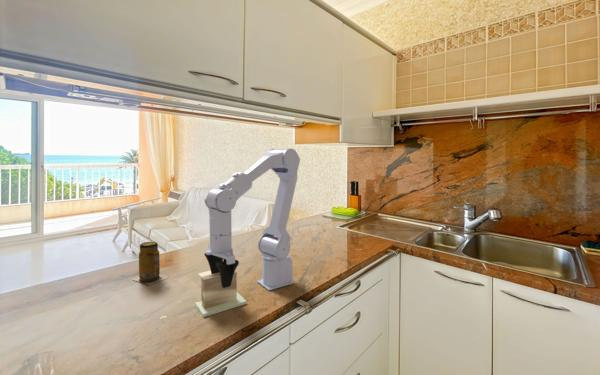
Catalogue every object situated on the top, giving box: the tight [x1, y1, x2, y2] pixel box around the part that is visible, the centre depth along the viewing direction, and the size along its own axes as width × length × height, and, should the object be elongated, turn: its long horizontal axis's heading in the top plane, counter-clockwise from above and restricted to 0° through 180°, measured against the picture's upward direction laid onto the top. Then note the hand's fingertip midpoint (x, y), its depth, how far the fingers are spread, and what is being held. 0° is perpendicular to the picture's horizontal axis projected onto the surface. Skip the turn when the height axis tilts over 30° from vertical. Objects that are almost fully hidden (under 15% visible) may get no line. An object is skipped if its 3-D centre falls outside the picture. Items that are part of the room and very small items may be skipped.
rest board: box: [194, 292, 248, 318], centre depth 77 cm, size 12×7×1 cm, turn 126°
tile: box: [197, 270, 211, 279], centre depth 95 cm, size 6×1×9 cm
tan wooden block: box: [200, 270, 238, 309], centre depth 76 cm, size 2×9×8 cm, turn 127°
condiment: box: [132, 241, 169, 286], centre depth 92 cm, size 7×8×12 cm
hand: (221, 281), depth 77 cm, fingers open, 7 cm apart
